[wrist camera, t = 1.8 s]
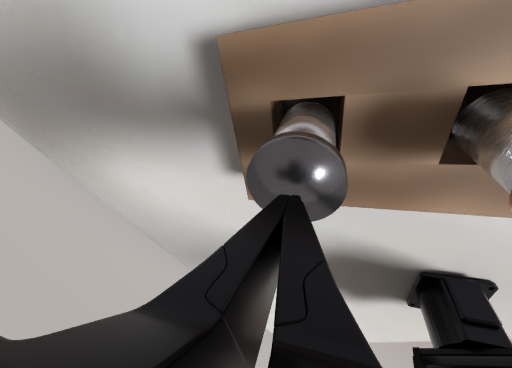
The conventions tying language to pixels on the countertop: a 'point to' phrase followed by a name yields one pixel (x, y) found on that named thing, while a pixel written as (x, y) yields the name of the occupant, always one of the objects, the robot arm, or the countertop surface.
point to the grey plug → (301, 162)
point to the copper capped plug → (489, 135)
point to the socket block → (381, 95)
